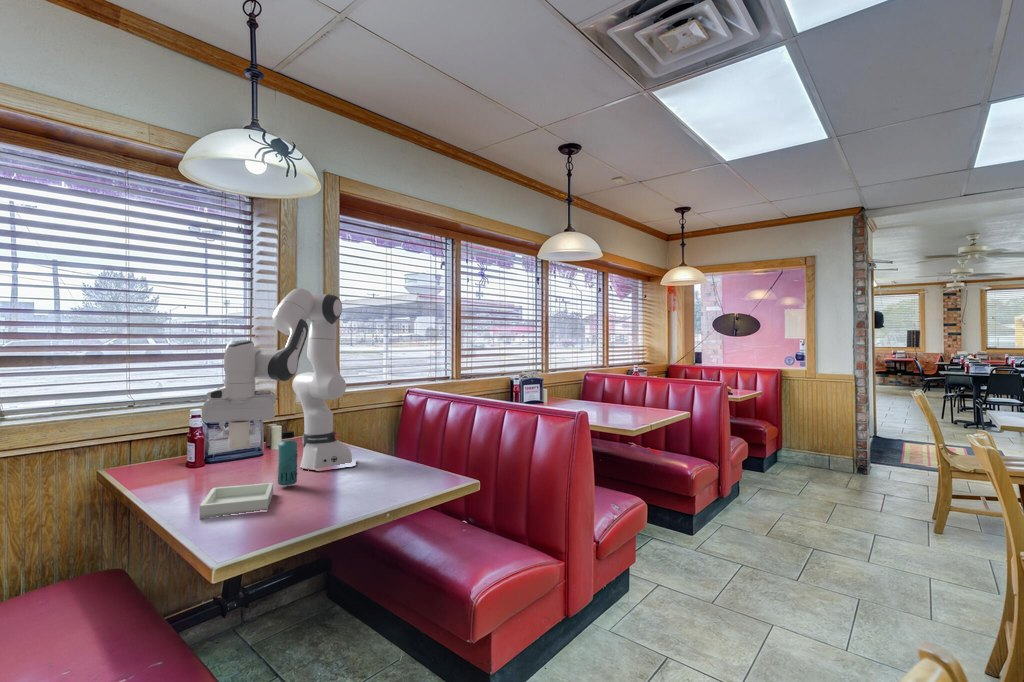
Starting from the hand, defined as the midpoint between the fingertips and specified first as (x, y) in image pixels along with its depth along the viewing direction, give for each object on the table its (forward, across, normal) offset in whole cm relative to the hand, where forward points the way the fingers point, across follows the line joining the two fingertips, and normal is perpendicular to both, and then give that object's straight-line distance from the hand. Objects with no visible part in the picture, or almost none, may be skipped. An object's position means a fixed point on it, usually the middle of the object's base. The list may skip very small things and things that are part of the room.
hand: (239, 435), depth 155 cm
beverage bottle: (+23, -13, -16) cm, 31 cm away
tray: (+23, 0, 0) cm, 23 cm away
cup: (+4, 0, 0) cm, 4 cm away
